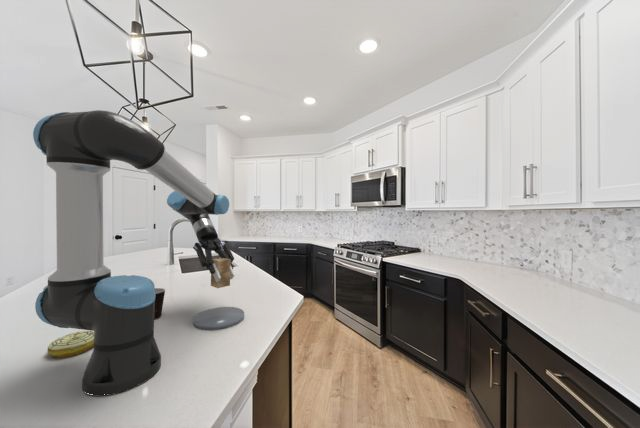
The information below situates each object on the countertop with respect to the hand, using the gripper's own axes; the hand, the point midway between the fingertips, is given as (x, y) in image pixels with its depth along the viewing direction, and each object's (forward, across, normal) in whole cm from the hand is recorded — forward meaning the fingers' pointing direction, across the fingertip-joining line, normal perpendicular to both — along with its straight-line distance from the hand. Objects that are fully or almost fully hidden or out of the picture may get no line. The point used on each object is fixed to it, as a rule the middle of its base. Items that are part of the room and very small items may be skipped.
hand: (225, 278), depth 92 cm
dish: (+9, 0, -14) cm, 17 cm away
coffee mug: (-7, +17, -30) cm, 35 cm away
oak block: (0, 0, -5) cm, 5 cm away
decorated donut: (+1, +38, -23) cm, 44 cm away
